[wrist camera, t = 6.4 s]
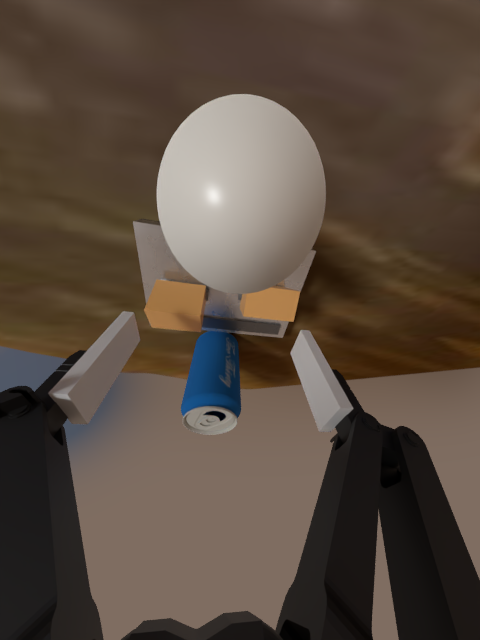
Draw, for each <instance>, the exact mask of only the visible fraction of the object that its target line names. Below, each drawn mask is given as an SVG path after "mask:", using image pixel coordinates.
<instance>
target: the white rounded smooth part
mask: <svg viewBox="0 0 480 640" xmlns="http://www.w3.org/2000/svg"><path fill="white" fill-rule="evenodd" d="M325 201H326V184H325V177H324V170H323V166H322V162H321V158H320V155H319V153H318V150H317V148H316V146H315V143H314V141H313V140H312V138H311V136H310V135H309V133H308V131H307V130H306V128H305V127H304V126H303V125H302V124H301V122H300V121H299V120H298V119H297V118H296V117H295V116H294V115H293V114H292V113H290V112H289V111H288V110H287V109H286V108H284V107H282V106H281V105H279V104H277V103H276V102H274V101H272V100H269V99H266V98H263V97H261V96H255V95H249V94H236V95H228V96H224V97H220V98H217V99H215V100H213V101H210V102H208V103H206V104H204V105H203V106H201V107H200V108H198V109H197V110H196V111H194V112H193V113H192V114H191V115H190V116H189V117H188V118H187V119H186V120H185V121H184V122H183V123H182V124H181V125H180V126H179V128H178V129H177V131H176V132H175V133H174V135H173V136H172V138H171V140H170V142H169V144H168V146H167V148H166V150H165V153H164V156H163V159H162V162H161V165H160V170H159V175H158V182H157V208H158V215H159V220H160V224H161V228H162V231H163V234H164V236H165V239H166V242H167V243H168V245H169V247H170V249H171V251H172V253H173V254H174V256H175V257H176V259H177V260H178V262H179V263H180V264H181V265H182V266H183V267H184V269H185V270H186V271H188V272H189V273H190V274H191V275H192V276H193V277H194V278H196V279H197V280H198V281H200V282H202V283H203V284H205V285H207V286H209V287H211V288H213V289H216V290H219V291H222V292H227V293H234V294H248V293H254V292H259V291H262V290H265V289H268V288H270V287H273V286H275V285H276V284H278V283H280V282H281V281H283V280H284V279H286V278H287V277H288V276H290V275H291V274H292V273H293V272H294V271H295V270H296V269H297V268H298V267H299V266H300V265H301V263H302V262H303V261H304V260H305V258H306V257H307V255H308V254H309V252H310V251H311V249H312V247H313V245H314V243H315V241H316V239H317V236H318V234H319V231H320V228H321V225H322V221H323V216H324V211H325Z"/></svg>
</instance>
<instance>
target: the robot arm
mask: <svg viewBox="0 0 480 640" xmlns="http://www.w3.org/2000/svg"><path fill="white" fill-rule="evenodd" d="M139 341H140V337H139V333H138V328H137V323H136V319H135V314H134V312H124V311H123V312H122V313H121V314H120V315H119V317H118V318H117V319H116V320H115V321H114V322H113V323H112V324H111V325H110V326H109V327H108V329H107V330H106V331H105V332H104V333H103V334H102V335H101V336H100V337H99V338H98V339H97V341H96V342H95V343H94V344H93V345H92V346H91V347H90V348H89V349H88V350H87V351H82V350H79V351H78V352H76V353H74V354H73V355H71V356H69V357H68V358H67V360H66V361H65V362H64V363H63V364H62V365H61V366H60V367H59V368H58V369H57V370H56V372H54V373H53V374H52V375H51V376H50V377H49V378H48V379H47V380H46V381H45V382H44V383H43V384H42V385H41V386H40V387H39V388H38V389H37V390H36V391H35V392H34V391H33V390H32V389H31V388H30V387H27V386H17V387H13V388H9V389H7V390H5V391H3V392H0V640H103V634H102V628H101V622H100V617H99V613H98V609H97V606H96V604H95V602H94V600H93V599H92V596H91V592H90V587H89V581H88V575H87V568H86V562H85V555H84V549H83V543H82V537H81V530H80V524H79V517H78V512H77V505H76V499H75V492H74V486H73V480H72V474H71V468H70V461H69V454H68V448H67V442H66V435H65V429H64V427H63V424H64V422H65V421H66V420H67V418H68V419H69V421H70V422H71V423H72V424H88V423H89V422H90V420H91V418H92V417H93V415H94V413H95V412H96V410H97V409H98V407H99V405H100V404H101V402H102V401H103V399H104V397H105V396H106V394H107V392H108V391H109V389H110V388H111V386H112V385H113V383H114V381H115V380H116V378H117V376H118V375H119V373H120V372H121V370H122V368H123V367H124V365H125V364H126V362H127V360H128V359H129V357H130V356H131V354H132V352H133V351H134V349H135V348H136V346H137V344H138V343H139ZM291 356H292V359H293V362H294V364H295V367H296V370H297V372H298V375H299V378H300V381H301V383H302V386H303V389H304V391H305V394H306V397H307V399H308V402H309V405H310V408H311V410H312V413H313V416H314V419H315V421H316V424H317V427H318V430H319V431H320V432H331V431H332V430H333V429H334V428H336V430H337V432H338V433H337V434H336V435H335V436H334V437H333V438H332V439H331V441H330V442H333V441H334V443H333V447H332V450H331V454H330V458H329V461H328V464H327V468H326V471H325V475H324V479H323V482H322V486H321V489H320V493H319V496H318V500H317V503H316V507H315V510H314V514H313V517H312V521H311V525H310V528H309V532H308V535H307V539H306V543H305V546H304V550H303V553H302V556H301V560H300V563H299V567H298V570H297V574H296V577H295V580H294V582H293V584H292V585H291V587H290V588H289V590H288V593H287V595H286V597H285V600H284V603H283V606H282V610H281V613H280V617H279V620H278V623H277V627H276V630H274V629H272V628H271V627H270V626H268V625H267V624H266V623H264V622H263V621H262V620H261V619H259V618H258V617H256V616H255V615H253V614H251V613H250V612H248V611H244V612H233V613H223V614H222V615H220V616H218V617H217V618H215V619H213V620H212V621H210V622H208V623H207V624H205V625H203V626H202V627H200V628H198V629H194V628H191V627H189V626H187V625H185V624H182V623H180V622H178V621H176V620H173V619H171V618H169V619H158V620H147V621H143V622H142V623H141V624H140V625H139V626H138V627H137V628H136V629H134V630H133V631H131V632H130V633H129V634H127V635H126V636H125V637H123V638H122V639H121V640H373V637H372V609H373V608H372V607H373V592H374V575H375V558H376V557H375V556H376V541H377V524H378V508H379V514H380V520H381V527H382V533H383V540H384V546H385V553H386V559H387V565H388V572H389V579H390V585H391V592H392V598H393V604H394V611H395V617H396V624H397V630H398V637H399V640H480V580H479V577H478V575H477V572H476V570H475V568H474V565H473V563H472V560H471V557H470V555H469V553H468V550H467V547H466V545H465V543H464V540H463V537H462V535H461V533H460V530H459V527H458V525H457V522H456V520H455V517H454V515H453V512H452V510H451V507H450V505H449V502H448V500H447V497H446V495H445V492H444V490H443V488H442V485H441V483H440V480H439V477H438V475H437V472H436V470H435V467H434V465H433V462H432V460H431V458H430V455H429V452H428V450H427V448H426V445H425V443H424V442H423V440H422V439H421V438H420V437H419V435H418V434H416V433H415V432H414V431H413V430H411V429H409V428H407V427H404V426H399V427H397V428H396V429H392V428H389V427H386V426H384V425H381V424H380V423H379V422H378V421H377V420H376V419H375V418H374V417H373V416H371V415H370V414H368V413H365V412H364V410H363V409H362V407H361V405H360V404H359V402H358V401H357V399H356V397H355V396H354V394H353V392H352V391H351V390H350V387H349V386H348V384H347V382H346V381H345V379H344V377H343V376H342V375H341V374H340V373H339V372H338V371H337V370H334V369H331V368H330V366H329V364H328V363H327V361H326V359H325V357H324V356H323V354H322V352H321V350H320V348H319V347H318V345H317V343H316V341H315V340H314V338H313V336H312V334H311V333H310V331H307V330H301V331H300V333H299V335H298V337H297V340H296V342H295V344H294V346H293V349H292V351H291Z"/></svg>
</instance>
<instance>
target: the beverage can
mask: <svg viewBox="0 0 480 640" xmlns="http://www.w3.org/2000/svg"><path fill="white" fill-rule="evenodd" d="M181 412H182V415H183V425H184V426H185V427H186V428H187V429H188V430H190V431H192V432H195V433H199V434H207V435H213V434H221V433H225V432H228V431H230V430H232V429H233V428H234V427H235V426H236V425H237V418H238V417H239V415H240V412H241V398H240V374H239V350H238V342H237V340H236V338H235V337H234V336H233V335H231V334H230V333H228V332H218V331H208V332H205V333H204V334H202V335H201V336H200V337H199V338H198V340H197V342H196V346H195V350H194V355H193V359H192V363H191V367H190V372H189V376H188V380H187V384H186V389H185V393H184V397H183V401H182V405H181Z"/></svg>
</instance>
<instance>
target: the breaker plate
mask: <svg viewBox="0 0 480 640" xmlns="http://www.w3.org/2000/svg"><path fill="white" fill-rule="evenodd" d="M133 225H134V231H135V237H136V243H137V249H138V255H139V262H140V268H141V274H142V280H143V286H144V292H145V298H146V304H147V302H148V299H149V297H150V294H151V292H152V289H153V287H154V285H155V282H156V280H157V279H158V280H166V281H174V282H182V283H190V284H198V285H205V284H203V283H202V282H200V281H198V280H197V279H196V278H194V277H193V276H192V275H191V274H190V273H189V272H188V271H186V270H185V269H184V267H183V266H182V265H181V264H180V263H179V262H178V260H177V259H176V257H175V256H174V254H173V253H172V251H171V249H170V247H169V245H168V243H167V242H166V239H165V236H164V234H163V231H162V228H161V224H160V222H159V221H153V220H147V219H139V220H135V221H133ZM315 253H316V250H314V249H313V248H312V249H311V251H310V252H309V254H308V255H307V257H306V258H305V260H304V261H303V262H302V263H301V265H300V266H299V267H298V268H297V269H296V270H295V271H294V272H293V273H292V274H291V275H290V276H288V277H287V278H286V279H284V280H283V281H281V282H280V283H278V284H276V285H275V286H279V287H286V288H290V289H293V290H297V291H300V292H301V289H302V287H303V284H304V282H305V279H306V276H307V274H308V271H309V269H310V266H311V263H312V261H313V258H314V256H315ZM206 290H209V298H208V301H206V305H205V311H204V317H203V323H202V329H201V330H207V331H218V332H228V333H238V334H248V335H259V336H269V337H279V338H283V336H284V333H285V331H286V328H287V325H288V323H289V321H280V320H271V319H262V318H253V317H244V316H243V314H242V312H241V310H240V302H241V300H238V294H234V293H227V292H222V291H219V290H216V289H213V288H211V287H209V286H207V285H206ZM150 325H151V324H150Z"/></svg>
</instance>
